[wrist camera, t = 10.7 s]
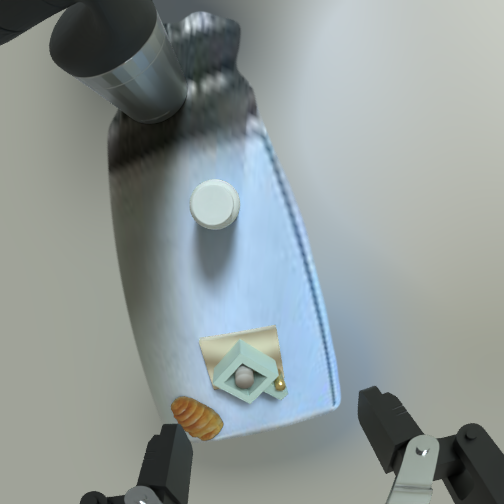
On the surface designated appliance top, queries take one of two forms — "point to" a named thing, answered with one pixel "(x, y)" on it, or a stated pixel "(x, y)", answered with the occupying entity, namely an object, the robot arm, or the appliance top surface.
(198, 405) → the pastry
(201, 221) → the supplement bottle
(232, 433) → the appliance top surface
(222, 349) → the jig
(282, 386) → the pin
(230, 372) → the pale green hollow block
